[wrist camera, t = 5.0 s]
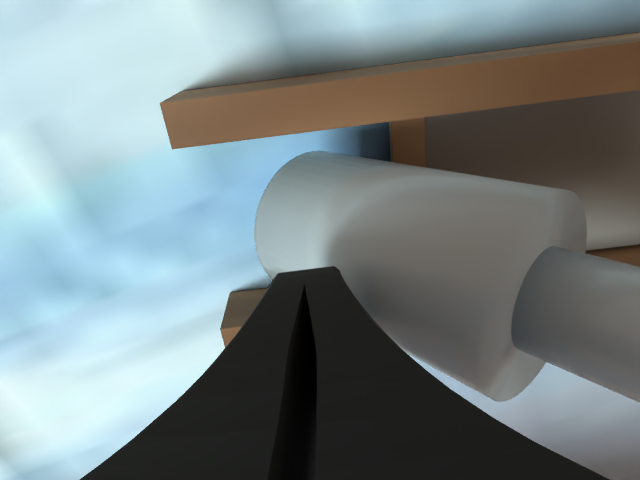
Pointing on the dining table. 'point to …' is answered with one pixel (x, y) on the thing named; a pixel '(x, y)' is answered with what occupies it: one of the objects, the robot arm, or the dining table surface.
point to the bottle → (460, 268)
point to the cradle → (462, 125)
